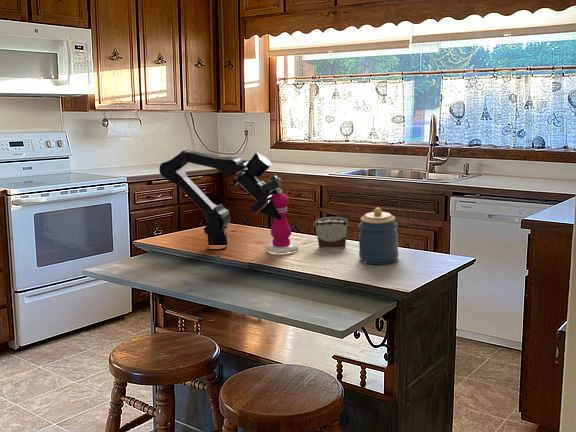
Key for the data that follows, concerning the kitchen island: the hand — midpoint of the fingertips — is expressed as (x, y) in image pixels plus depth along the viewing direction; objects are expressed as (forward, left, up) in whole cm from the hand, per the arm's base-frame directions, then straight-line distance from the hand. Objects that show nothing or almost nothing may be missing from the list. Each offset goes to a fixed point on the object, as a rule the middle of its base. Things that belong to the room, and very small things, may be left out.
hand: (283, 217), depth 226 cm
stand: (-1, 0, -12) cm, 12 cm away
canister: (+31, -16, -13) cm, 37 cm away
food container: (+17, +3, -12) cm, 21 cm away
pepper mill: (-1, 0, -10) cm, 10 cm away
